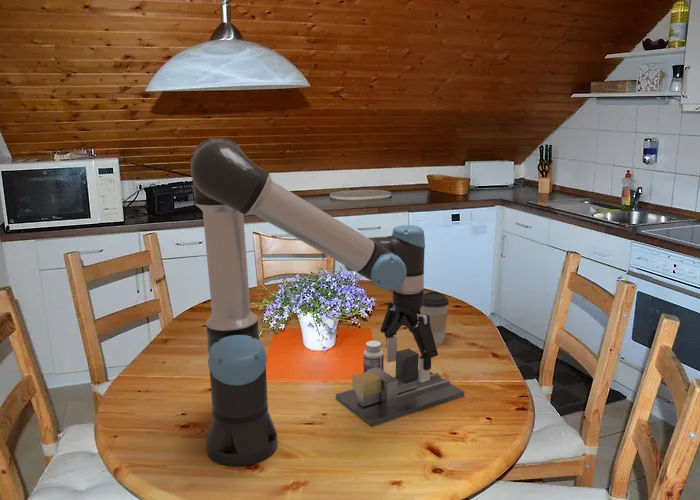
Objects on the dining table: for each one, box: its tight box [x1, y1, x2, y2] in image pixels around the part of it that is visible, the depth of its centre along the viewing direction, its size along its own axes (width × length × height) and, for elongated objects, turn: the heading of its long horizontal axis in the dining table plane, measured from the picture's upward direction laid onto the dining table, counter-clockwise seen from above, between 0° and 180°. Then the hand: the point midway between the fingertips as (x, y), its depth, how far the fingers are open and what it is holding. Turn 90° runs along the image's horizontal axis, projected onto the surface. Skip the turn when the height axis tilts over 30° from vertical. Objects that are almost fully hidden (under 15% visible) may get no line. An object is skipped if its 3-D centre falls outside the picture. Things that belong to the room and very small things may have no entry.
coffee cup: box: [420, 290, 449, 346], centre depth 187 cm, size 9×9×15 cm
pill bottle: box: [362, 340, 385, 373], centre depth 164 cm, size 5×5×10 cm
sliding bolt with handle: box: [356, 348, 419, 407], centre depth 150 cm, size 16×4×10 cm, turn 121°
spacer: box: [351, 371, 381, 397], centre depth 147 cm, size 5×5×4 cm
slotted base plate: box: [335, 367, 465, 428], centre depth 153 cm, size 28×16×8 cm, turn 121°
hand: (407, 370), depth 153 cm, fingers open, 13 cm apart
